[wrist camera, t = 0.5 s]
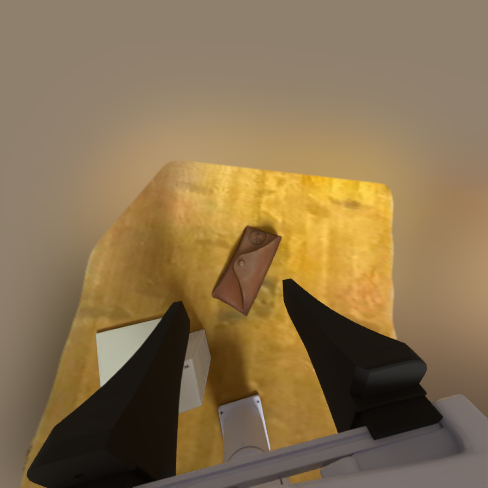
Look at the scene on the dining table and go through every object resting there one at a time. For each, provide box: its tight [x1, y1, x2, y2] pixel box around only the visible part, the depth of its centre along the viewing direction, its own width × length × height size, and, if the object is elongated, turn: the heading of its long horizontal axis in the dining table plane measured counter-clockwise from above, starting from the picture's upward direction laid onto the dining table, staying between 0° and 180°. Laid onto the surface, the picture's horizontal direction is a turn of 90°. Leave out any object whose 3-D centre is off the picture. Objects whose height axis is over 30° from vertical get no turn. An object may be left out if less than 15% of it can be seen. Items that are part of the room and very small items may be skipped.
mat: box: [96, 318, 162, 387], centre depth 33 cm, size 14×14×1 cm
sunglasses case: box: [212, 226, 282, 316], centre depth 36 cm, size 18×7×7 cm, turn 155°
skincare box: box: [178, 329, 211, 414], centre depth 28 cm, size 6×4×12 cm
